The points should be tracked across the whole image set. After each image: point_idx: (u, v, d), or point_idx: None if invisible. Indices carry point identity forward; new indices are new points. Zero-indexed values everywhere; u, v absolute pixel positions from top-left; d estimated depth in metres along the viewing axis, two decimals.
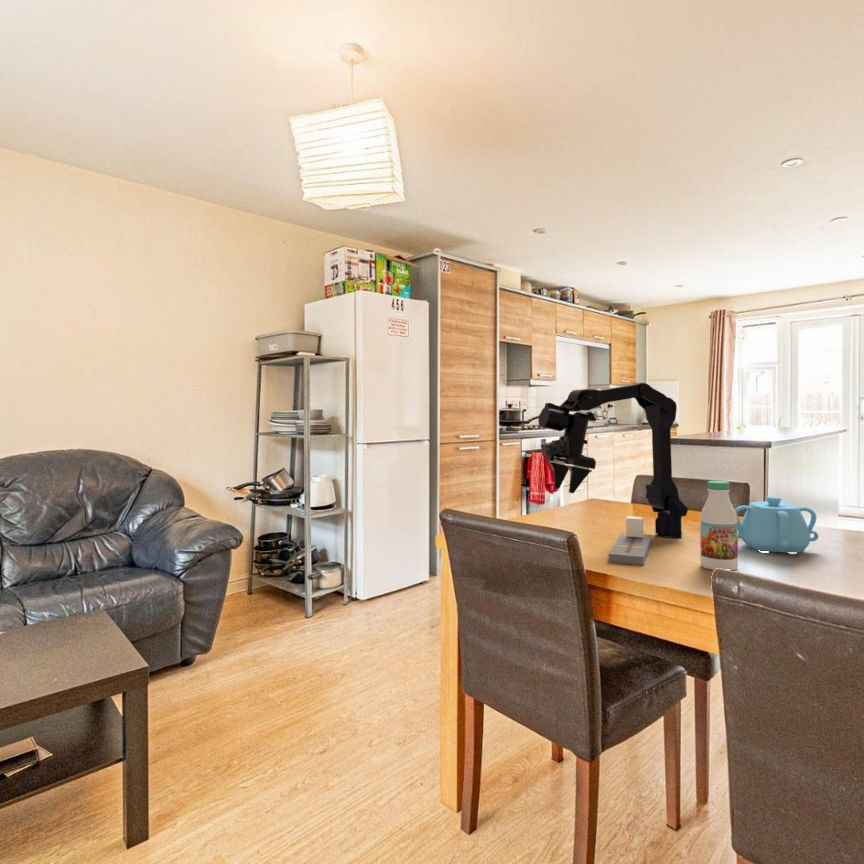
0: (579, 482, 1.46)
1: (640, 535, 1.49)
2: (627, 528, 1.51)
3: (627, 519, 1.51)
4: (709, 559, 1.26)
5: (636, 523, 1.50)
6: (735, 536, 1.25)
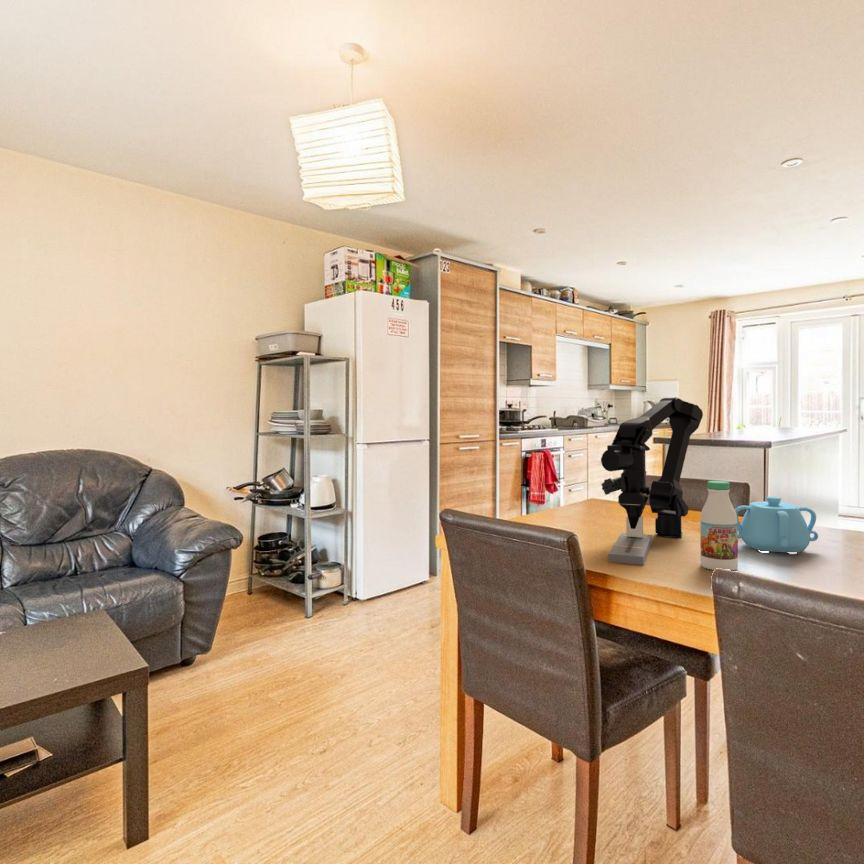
0: (637, 517, 1.46)
1: (640, 535, 1.49)
2: (627, 528, 1.51)
3: (627, 519, 1.51)
4: (709, 559, 1.26)
5: None
6: (735, 536, 1.25)
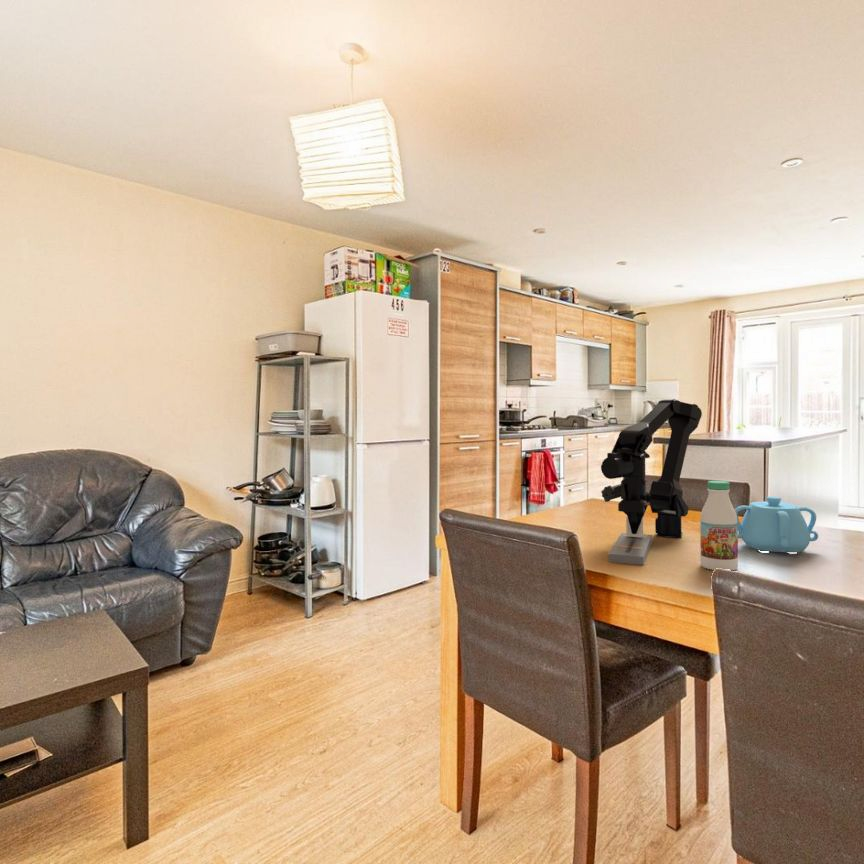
0: (638, 523, 1.48)
1: (640, 535, 1.49)
2: (627, 528, 1.51)
3: (627, 519, 1.51)
4: (709, 559, 1.26)
5: None
6: (735, 536, 1.25)
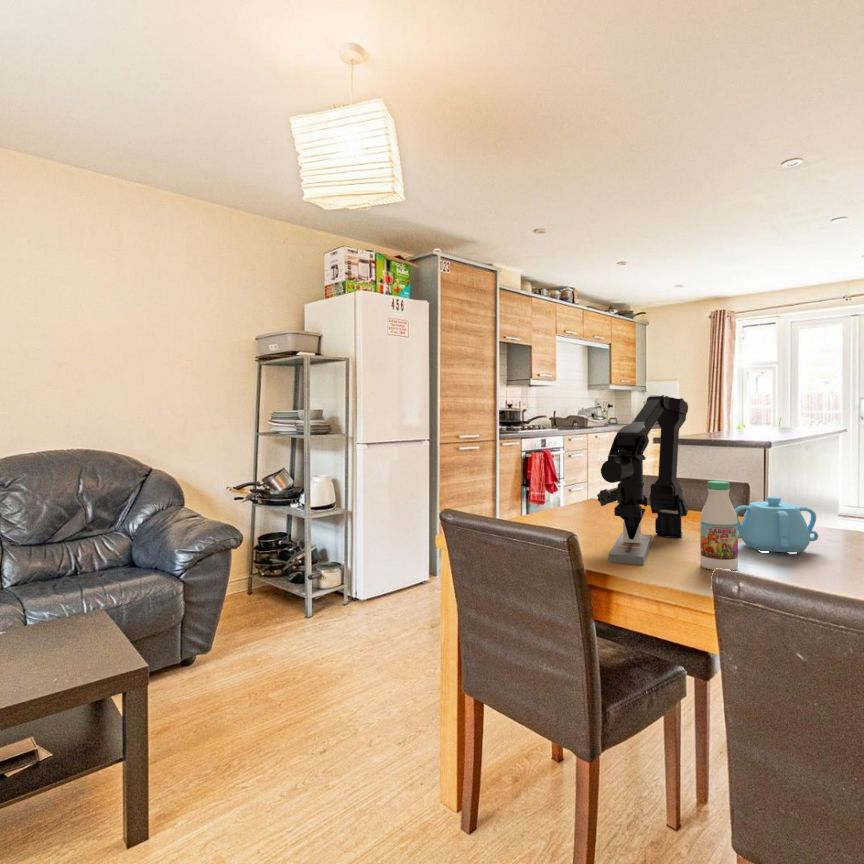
0: (635, 528, 1.42)
1: (637, 541, 1.43)
2: (624, 533, 1.45)
3: (624, 524, 1.45)
4: (709, 559, 1.26)
5: None
6: (735, 536, 1.25)
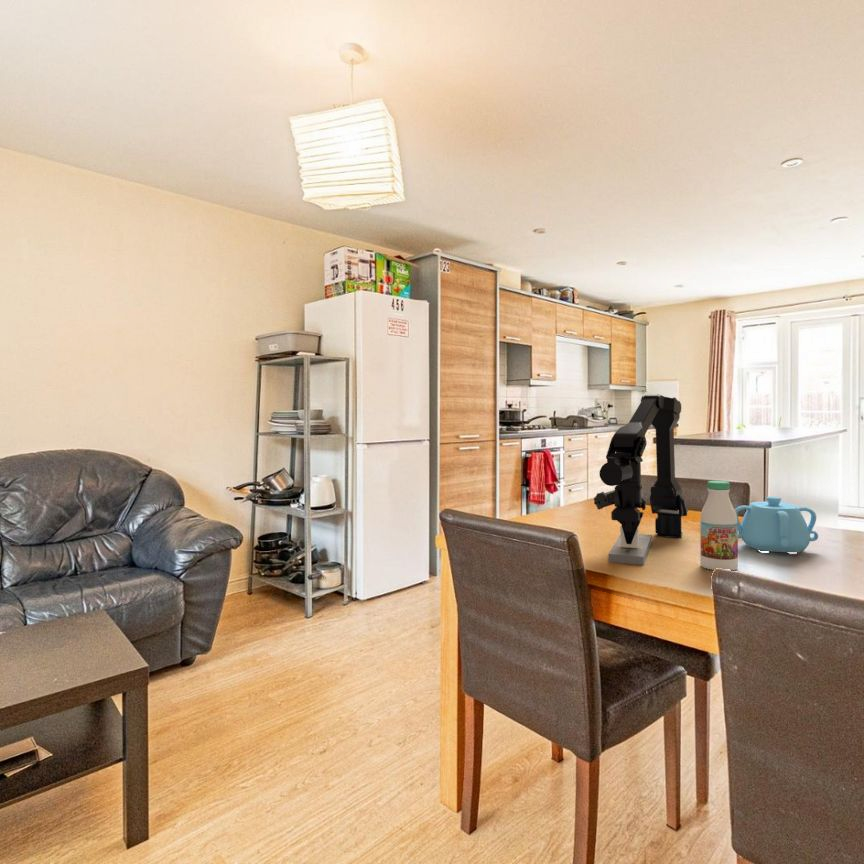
0: (633, 532, 1.38)
1: (635, 545, 1.39)
2: (621, 538, 1.40)
3: (621, 528, 1.40)
4: (709, 559, 1.26)
5: None
6: (735, 536, 1.25)
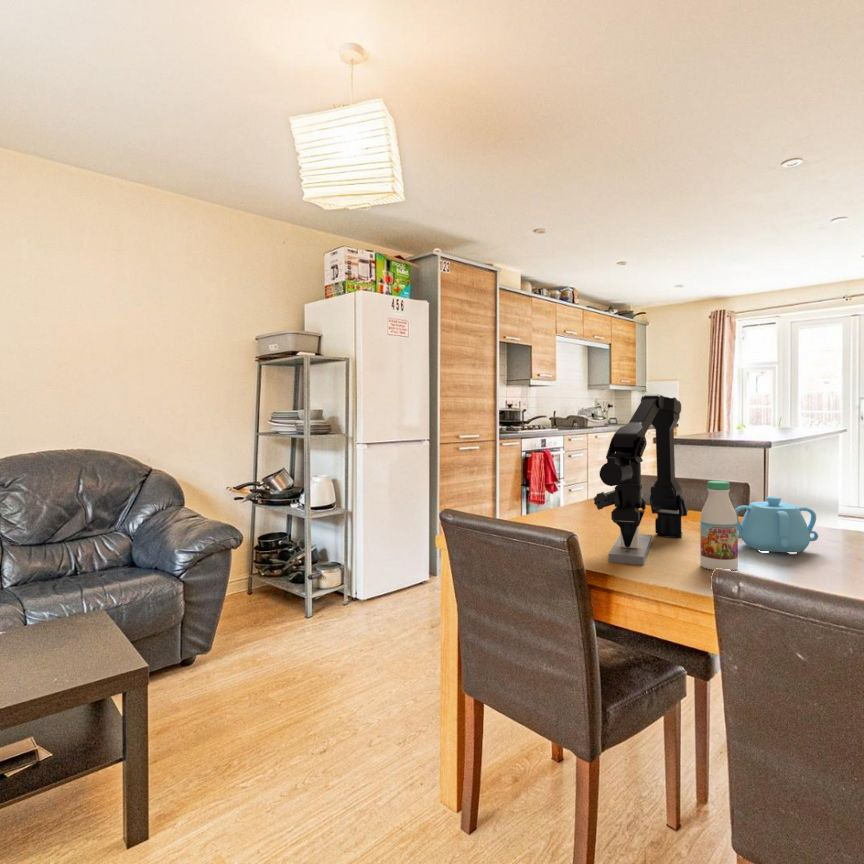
0: (631, 535, 1.35)
1: (635, 545, 1.39)
2: (621, 538, 1.40)
3: None
4: (709, 559, 1.26)
5: None
6: (735, 536, 1.25)
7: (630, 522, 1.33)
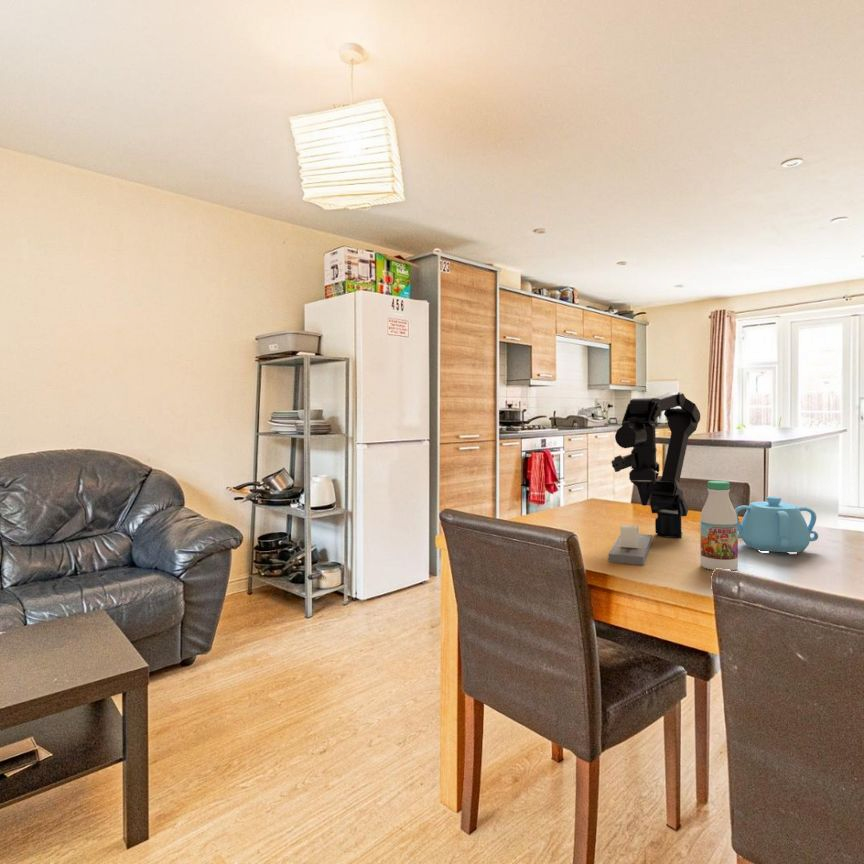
0: (648, 494, 1.45)
1: (635, 545, 1.39)
2: (621, 538, 1.40)
3: (621, 528, 1.40)
4: (709, 559, 1.26)
5: (631, 532, 1.39)
6: (735, 536, 1.25)
7: (647, 481, 1.42)
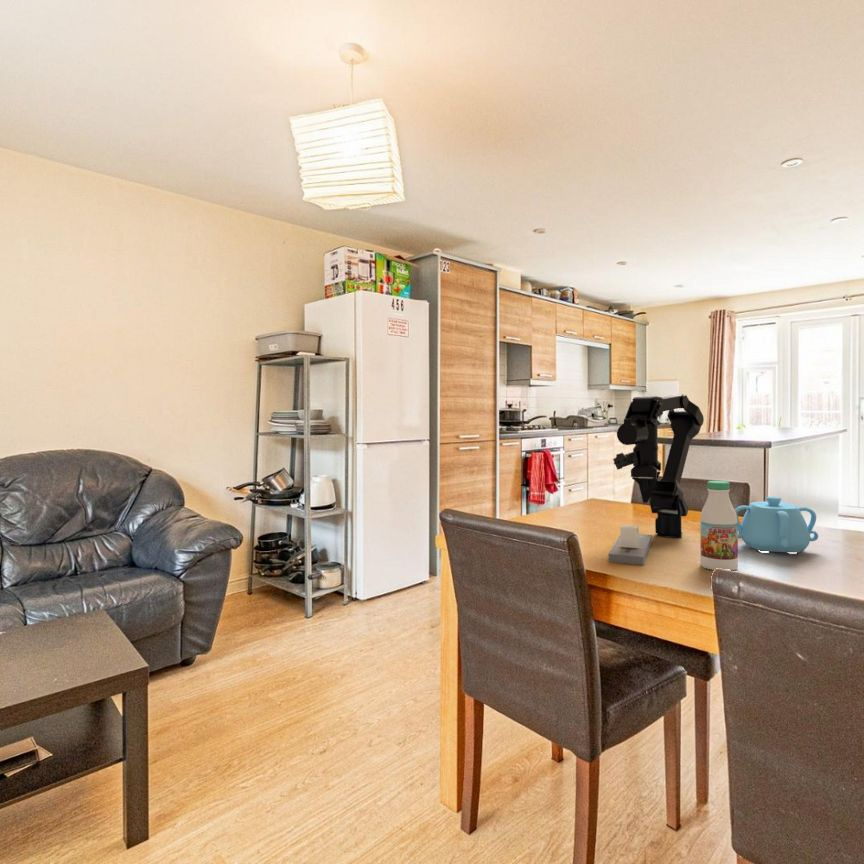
0: (649, 491, 1.46)
1: (635, 545, 1.39)
2: (621, 538, 1.40)
3: (621, 528, 1.40)
4: (709, 559, 1.26)
5: (631, 532, 1.39)
6: (735, 536, 1.25)
7: (648, 478, 1.44)
